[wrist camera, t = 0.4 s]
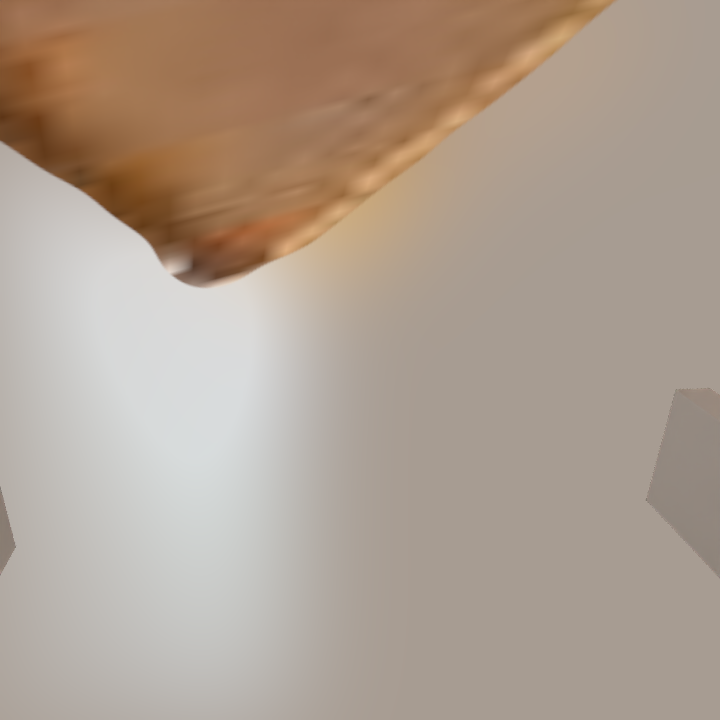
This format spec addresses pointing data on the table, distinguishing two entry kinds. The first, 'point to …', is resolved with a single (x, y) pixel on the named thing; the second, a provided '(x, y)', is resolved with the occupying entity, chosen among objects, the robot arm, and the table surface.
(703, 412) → the robot arm
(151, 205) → the table surface
